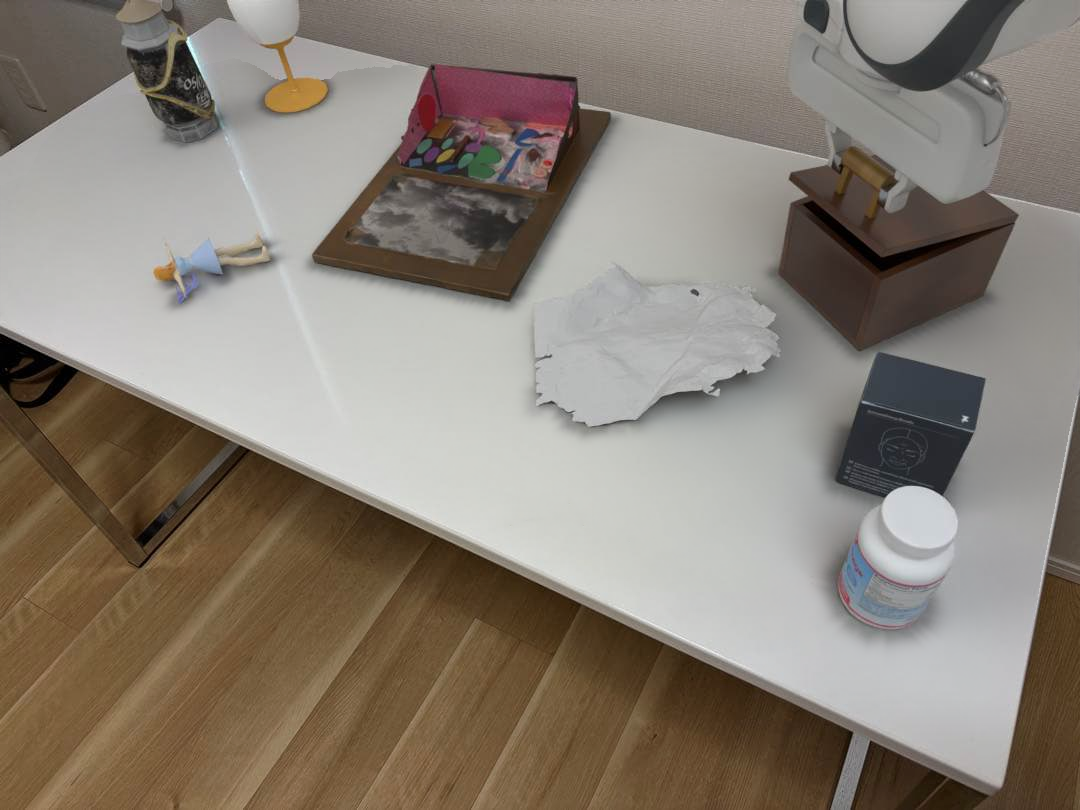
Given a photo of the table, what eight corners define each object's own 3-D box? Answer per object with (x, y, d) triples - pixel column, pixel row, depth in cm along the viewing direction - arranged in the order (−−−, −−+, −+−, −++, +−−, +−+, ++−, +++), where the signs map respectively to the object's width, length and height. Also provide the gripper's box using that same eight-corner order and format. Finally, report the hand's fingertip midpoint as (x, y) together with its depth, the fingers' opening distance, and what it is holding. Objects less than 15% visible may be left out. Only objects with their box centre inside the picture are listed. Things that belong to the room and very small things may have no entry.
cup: (337, 80, 117) (302, -37, 105) (312, 114, 112) (272, -5, 99) (281, 78, 119) (240, -37, 107) (254, 111, 114) (207, -6, 101)
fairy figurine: (272, 255, 87) (157, 288, 83) (282, 290, 91) (172, 323, 87) (244, 201, 94) (137, 230, 90) (255, 236, 97) (151, 264, 94)
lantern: (236, 120, 113) (153, -76, 93) (193, 151, 108) (97, -47, 89) (193, 108, 116) (104, -84, 97) (150, 137, 112) (49, -57, 93)
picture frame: (614, 120, 104) (613, 59, 97) (509, 303, 84) (499, 241, 78) (445, 99, 111) (433, 40, 105) (311, 262, 91) (287, 202, 85)
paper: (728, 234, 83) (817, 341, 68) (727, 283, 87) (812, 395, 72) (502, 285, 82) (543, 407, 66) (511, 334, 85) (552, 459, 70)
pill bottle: (847, 547, 63) (880, 463, 54) (930, 575, 61) (978, 493, 52) (827, 614, 60) (859, 536, 51) (914, 646, 58) (963, 571, 49)
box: (946, 461, 67) (989, 376, 59) (933, 515, 64) (976, 433, 56) (849, 432, 70) (877, 347, 62) (832, 482, 67) (859, 400, 59)
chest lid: (881, 257, 66) (905, 204, 63) (788, 179, 74) (804, 128, 70) (1015, 222, 72) (1044, 171, 68) (915, 153, 79) (936, 103, 76)
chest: (859, 351, 75) (880, 280, 69) (778, 273, 83) (790, 202, 76) (983, 296, 78) (1015, 222, 72) (894, 225, 86) (915, 153, 79)
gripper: (1055, 75, 53) (985, 242, 64) (850, -34, 65) (820, 121, 76) (979, 104, 52) (920, 269, 62) (785, -13, 64) (763, 142, 75)
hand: (864, 187), depth 69 cm, fingers closed on chest lid, 5 cm apart
